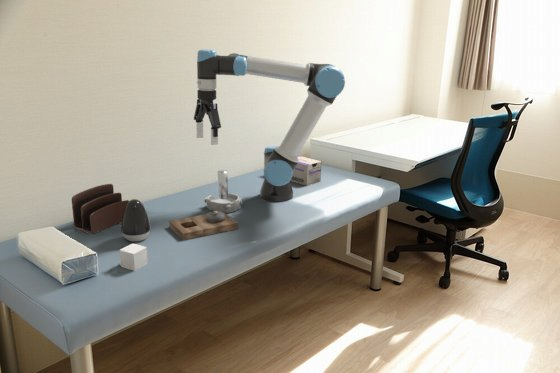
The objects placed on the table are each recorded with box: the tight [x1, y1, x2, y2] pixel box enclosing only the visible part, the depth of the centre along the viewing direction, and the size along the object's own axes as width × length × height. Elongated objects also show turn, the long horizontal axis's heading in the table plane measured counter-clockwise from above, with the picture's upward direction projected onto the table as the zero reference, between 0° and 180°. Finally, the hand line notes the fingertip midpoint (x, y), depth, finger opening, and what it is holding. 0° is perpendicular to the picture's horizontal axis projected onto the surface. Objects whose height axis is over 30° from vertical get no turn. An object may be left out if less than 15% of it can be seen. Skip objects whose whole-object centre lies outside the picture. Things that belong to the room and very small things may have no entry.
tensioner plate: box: [168, 211, 239, 241], centre depth 198 cm, size 22×14×6 cm, turn 122°
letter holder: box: [71, 183, 130, 235], centre depth 200 cm, size 10×20×14 cm, turn 150°
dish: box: [203, 192, 243, 214], centre depth 221 cm, size 14×14×5 cm
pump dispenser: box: [120, 198, 152, 243], centre depth 186 cm, size 10×10×15 cm
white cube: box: [119, 242, 149, 272], centre depth 168 cm, size 6×6×6 cm
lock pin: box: [217, 169, 229, 199], centre depth 218 cm, size 4×4×12 cm
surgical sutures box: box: [290, 155, 322, 187], centre depth 264 cm, size 25×11×11 cm, turn 47°
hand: (206, 141), depth 216 cm, fingers open, 13 cm apart
